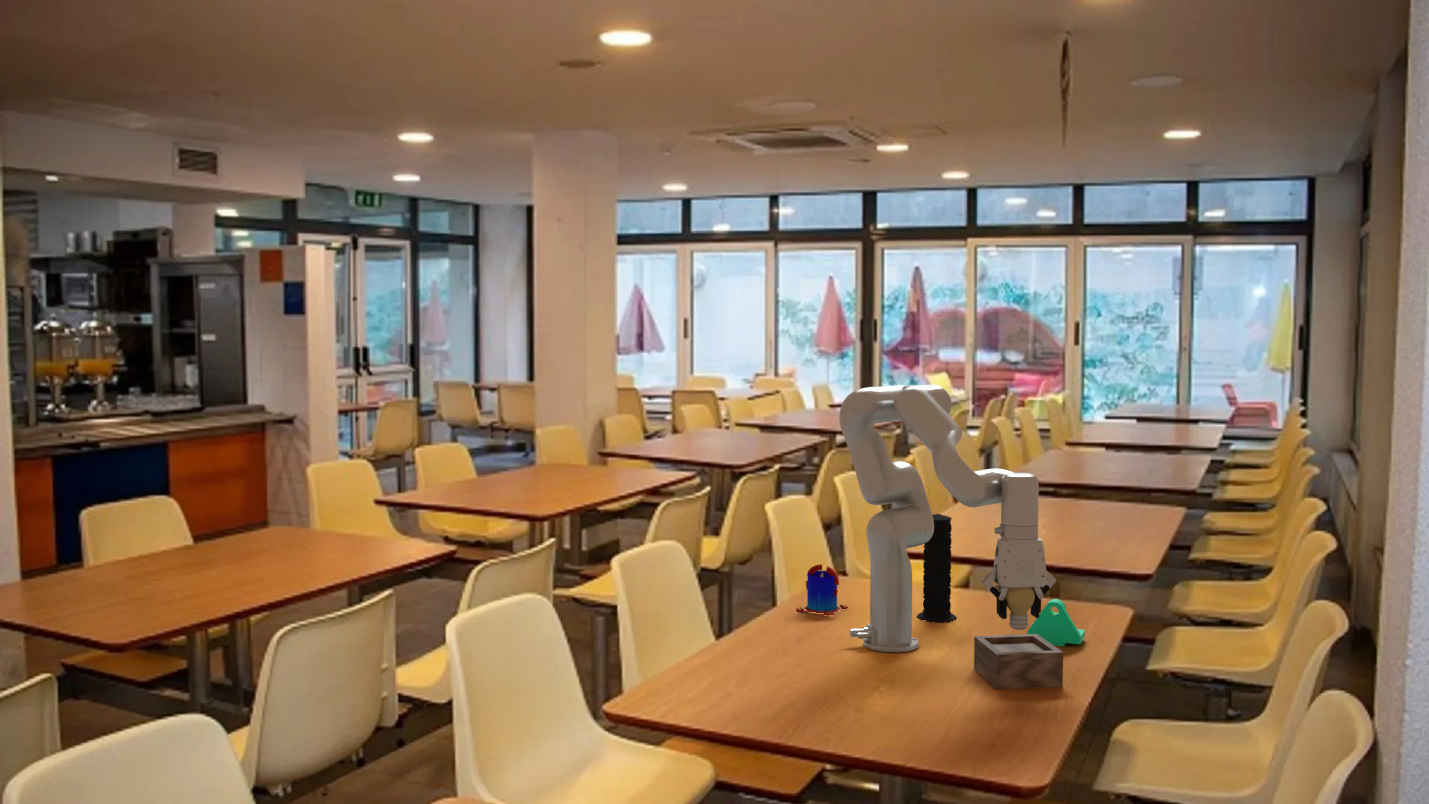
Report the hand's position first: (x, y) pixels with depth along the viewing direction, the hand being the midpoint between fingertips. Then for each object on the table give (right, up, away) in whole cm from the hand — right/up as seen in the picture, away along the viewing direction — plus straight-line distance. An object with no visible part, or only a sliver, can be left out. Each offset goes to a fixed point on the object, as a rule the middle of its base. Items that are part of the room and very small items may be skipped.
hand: (1018, 616), depth 250 cm
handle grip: (-8, -10, +50) cm, 52 cm away
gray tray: (0, -13, +1) cm, 13 cm away
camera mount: (+16, -11, +29) cm, 35 cm away
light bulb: (0, -3, 0) cm, 3 cm away
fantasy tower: (-36, -9, +59) cm, 69 cm away
